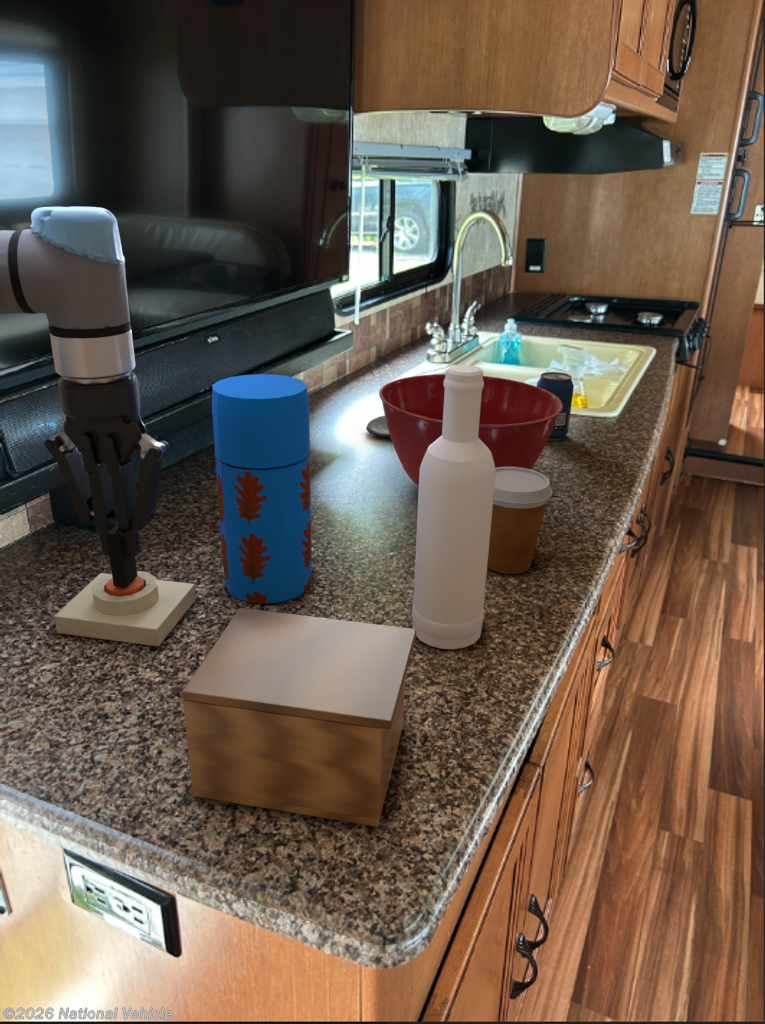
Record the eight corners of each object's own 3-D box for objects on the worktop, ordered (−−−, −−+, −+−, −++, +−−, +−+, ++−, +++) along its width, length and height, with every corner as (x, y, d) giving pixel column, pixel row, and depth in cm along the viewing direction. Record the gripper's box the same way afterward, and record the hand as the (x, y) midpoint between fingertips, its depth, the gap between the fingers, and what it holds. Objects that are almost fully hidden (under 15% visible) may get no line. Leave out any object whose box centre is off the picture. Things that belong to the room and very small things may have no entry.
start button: (101, 603, 86) (99, 589, 85) (118, 585, 89) (117, 572, 88) (134, 607, 85) (132, 593, 84) (151, 589, 89) (149, 576, 88)
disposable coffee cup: (529, 587, 96) (539, 499, 91) (459, 568, 100) (465, 483, 95) (552, 557, 104) (563, 474, 99) (486, 540, 108) (493, 460, 103)
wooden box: (403, 724, 72) (407, 636, 68) (377, 827, 61) (380, 729, 57) (245, 701, 75) (239, 615, 71) (192, 796, 63) (182, 700, 59)
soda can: (525, 431, 152) (531, 372, 147) (556, 429, 154) (563, 370, 149) (541, 443, 146) (548, 381, 141) (574, 440, 148) (582, 379, 143)
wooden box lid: (416, 636, 68) (416, 628, 68) (391, 730, 57) (391, 721, 56) (239, 614, 71) (239, 607, 70) (182, 700, 59) (181, 691, 59)
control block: (56, 633, 85) (50, 601, 83) (103, 588, 94) (98, 559, 92) (158, 646, 83) (154, 615, 81) (196, 599, 92) (193, 570, 90)
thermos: (297, 609, 90) (292, 402, 80) (211, 599, 92) (195, 395, 81) (320, 566, 100) (319, 377, 90) (242, 557, 102) (231, 371, 91)
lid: (427, 439, 151) (430, 414, 150) (402, 440, 143) (406, 413, 142) (381, 431, 156) (384, 407, 155) (355, 432, 148) (358, 406, 147)
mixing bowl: (508, 451, 142) (516, 369, 135) (584, 515, 117) (598, 417, 110) (359, 462, 135) (360, 375, 128) (405, 532, 110) (409, 428, 103)
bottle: (397, 630, 87) (406, 367, 74) (440, 604, 92) (456, 355, 79) (453, 660, 82) (473, 383, 69) (496, 630, 87) (522, 369, 75)
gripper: (174, 369, 79) (194, 571, 89) (58, 361, 81) (89, 559, 91) (140, 388, 72) (165, 604, 82) (14, 379, 74) (53, 591, 84)
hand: (125, 580), depth 86 cm, fingers closed
